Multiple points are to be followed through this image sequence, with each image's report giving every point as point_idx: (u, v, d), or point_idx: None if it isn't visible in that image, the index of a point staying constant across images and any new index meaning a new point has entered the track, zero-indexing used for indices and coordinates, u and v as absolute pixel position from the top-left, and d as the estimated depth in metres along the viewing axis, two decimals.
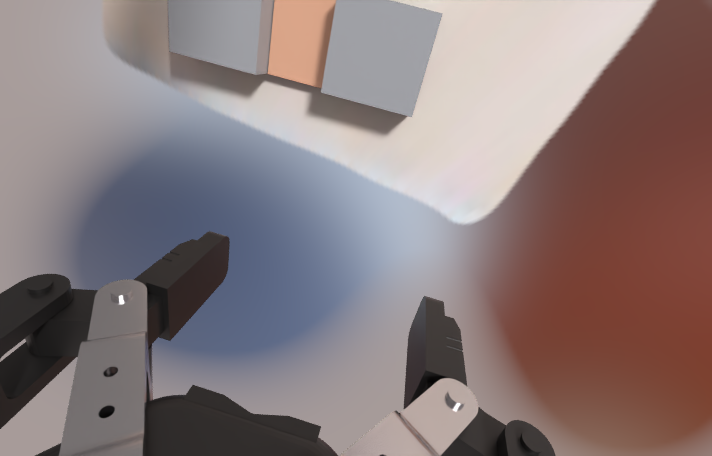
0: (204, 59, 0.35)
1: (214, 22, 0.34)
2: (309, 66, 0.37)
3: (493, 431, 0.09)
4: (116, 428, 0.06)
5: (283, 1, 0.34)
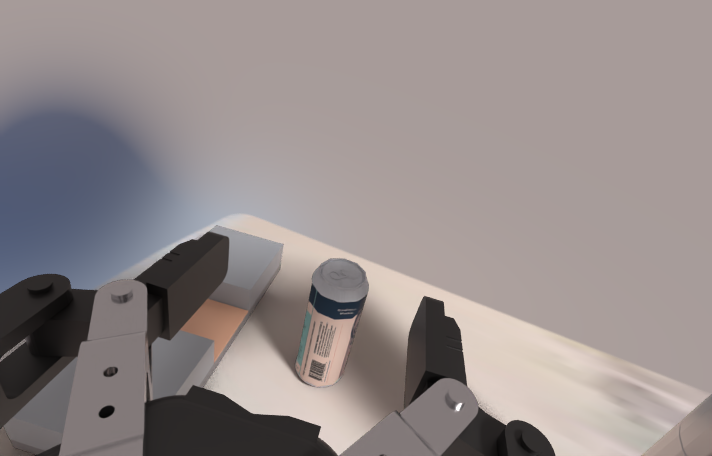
0: None
1: None
2: None
3: (493, 431, 0.09)
4: (116, 428, 0.06)
5: (226, 311, 0.36)
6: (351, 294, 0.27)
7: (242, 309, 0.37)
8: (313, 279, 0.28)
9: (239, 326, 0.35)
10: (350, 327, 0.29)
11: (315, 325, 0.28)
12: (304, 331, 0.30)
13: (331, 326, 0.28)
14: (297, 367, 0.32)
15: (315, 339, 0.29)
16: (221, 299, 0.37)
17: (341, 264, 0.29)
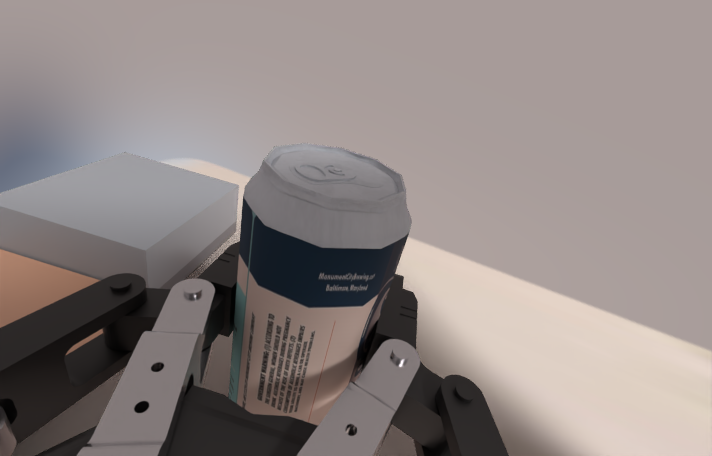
0: (80, 167, 0.22)
1: (119, 188, 0.21)
2: None
3: (434, 385, 0.10)
4: (144, 426, 0.06)
5: None
6: (363, 223, 0.08)
7: None
8: (247, 185, 0.09)
9: None
10: (358, 331, 0.10)
11: (255, 325, 0.10)
12: (235, 341, 0.11)
13: (299, 328, 0.09)
14: None
15: (259, 363, 0.10)
16: (94, 271, 0.18)
17: (334, 157, 0.11)
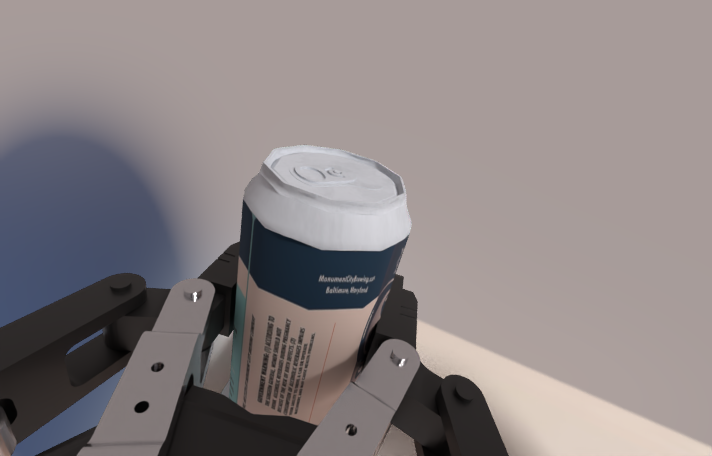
0: None
1: None
2: None
3: (434, 385, 0.10)
4: (144, 426, 0.06)
5: None
6: (363, 226, 0.08)
7: None
8: (247, 187, 0.09)
9: None
10: (358, 333, 0.10)
11: (255, 327, 0.10)
12: (235, 343, 0.11)
13: (300, 330, 0.09)
14: None
15: (259, 366, 0.10)
16: None
17: (334, 159, 0.11)
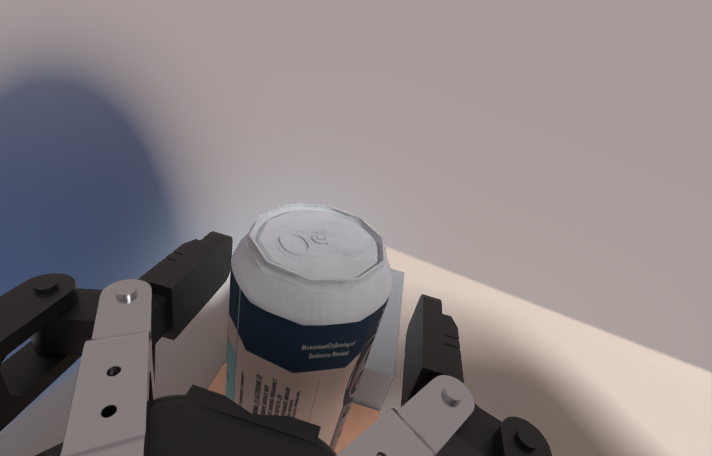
0: None
1: None
2: None
3: (489, 427, 0.09)
4: (118, 428, 0.06)
5: None
6: (342, 300, 0.09)
7: (368, 408, 0.19)
8: (235, 255, 0.10)
9: None
10: (342, 386, 0.11)
11: (245, 382, 0.10)
12: (228, 387, 0.12)
13: (285, 389, 0.10)
14: None
15: None
16: None
17: (319, 218, 0.11)
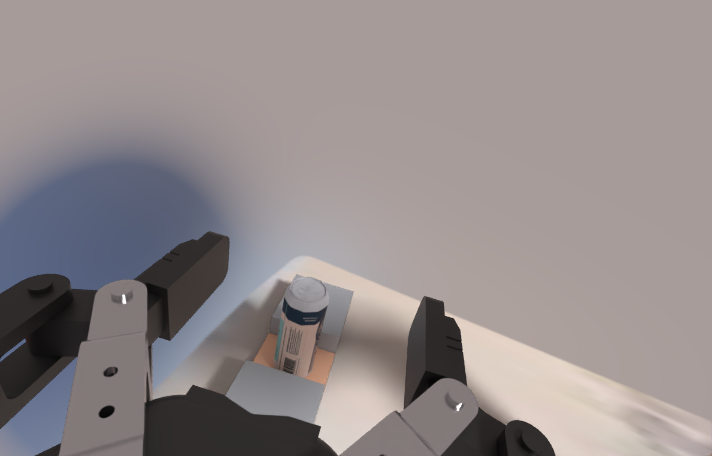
0: None
1: None
2: (268, 364, 0.41)
3: (493, 431, 0.09)
4: (116, 428, 0.06)
5: (318, 354, 0.44)
6: (313, 306, 0.34)
7: (330, 352, 0.44)
8: (285, 293, 0.36)
9: (330, 367, 0.43)
10: (314, 331, 0.36)
11: (286, 329, 0.36)
12: (279, 334, 0.38)
13: (298, 330, 0.36)
14: (274, 363, 0.40)
15: (287, 340, 0.37)
16: None
17: (308, 281, 0.37)
